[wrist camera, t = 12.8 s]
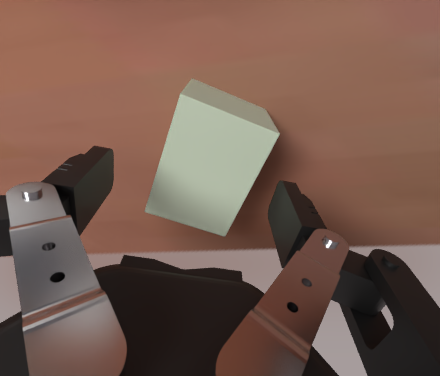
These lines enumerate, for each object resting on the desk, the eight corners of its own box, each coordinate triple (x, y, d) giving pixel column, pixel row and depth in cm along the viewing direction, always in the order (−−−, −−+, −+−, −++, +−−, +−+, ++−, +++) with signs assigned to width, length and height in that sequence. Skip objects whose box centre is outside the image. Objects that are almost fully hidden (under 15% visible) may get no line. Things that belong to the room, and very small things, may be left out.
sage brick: (265, 108, 17) (279, 133, 12) (224, 193, 20) (224, 236, 16) (192, 77, 16) (180, 93, 11) (162, 172, 19) (144, 211, 15)
